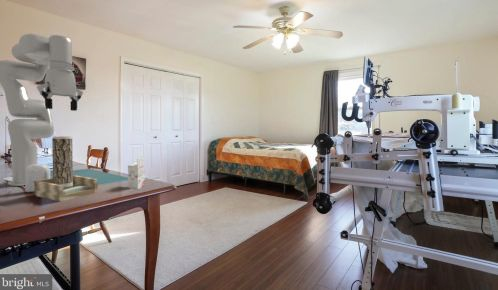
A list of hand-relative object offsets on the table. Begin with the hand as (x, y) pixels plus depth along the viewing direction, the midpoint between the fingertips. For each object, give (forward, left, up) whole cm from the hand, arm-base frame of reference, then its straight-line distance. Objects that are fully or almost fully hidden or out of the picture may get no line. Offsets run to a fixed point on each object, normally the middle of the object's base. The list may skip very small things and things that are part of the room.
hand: (61, 109), depth 108 cm
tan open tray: (+3, 0, -36) cm, 36 cm away
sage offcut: (+7, 0, -34) cm, 35 cm away
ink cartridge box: (+14, +26, -37) cm, 47 cm away
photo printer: (-14, -2, -37) cm, 39 cm away
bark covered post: (0, 0, -37) cm, 37 cm away
